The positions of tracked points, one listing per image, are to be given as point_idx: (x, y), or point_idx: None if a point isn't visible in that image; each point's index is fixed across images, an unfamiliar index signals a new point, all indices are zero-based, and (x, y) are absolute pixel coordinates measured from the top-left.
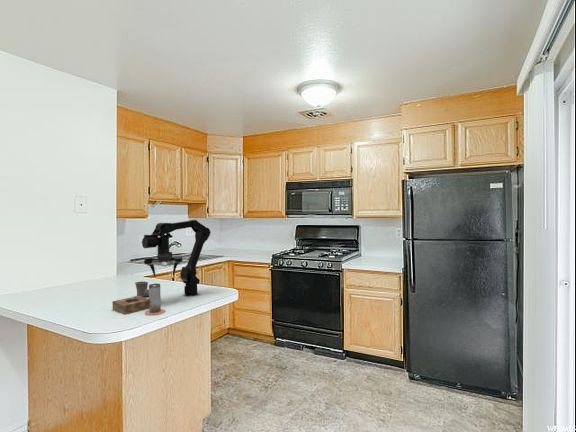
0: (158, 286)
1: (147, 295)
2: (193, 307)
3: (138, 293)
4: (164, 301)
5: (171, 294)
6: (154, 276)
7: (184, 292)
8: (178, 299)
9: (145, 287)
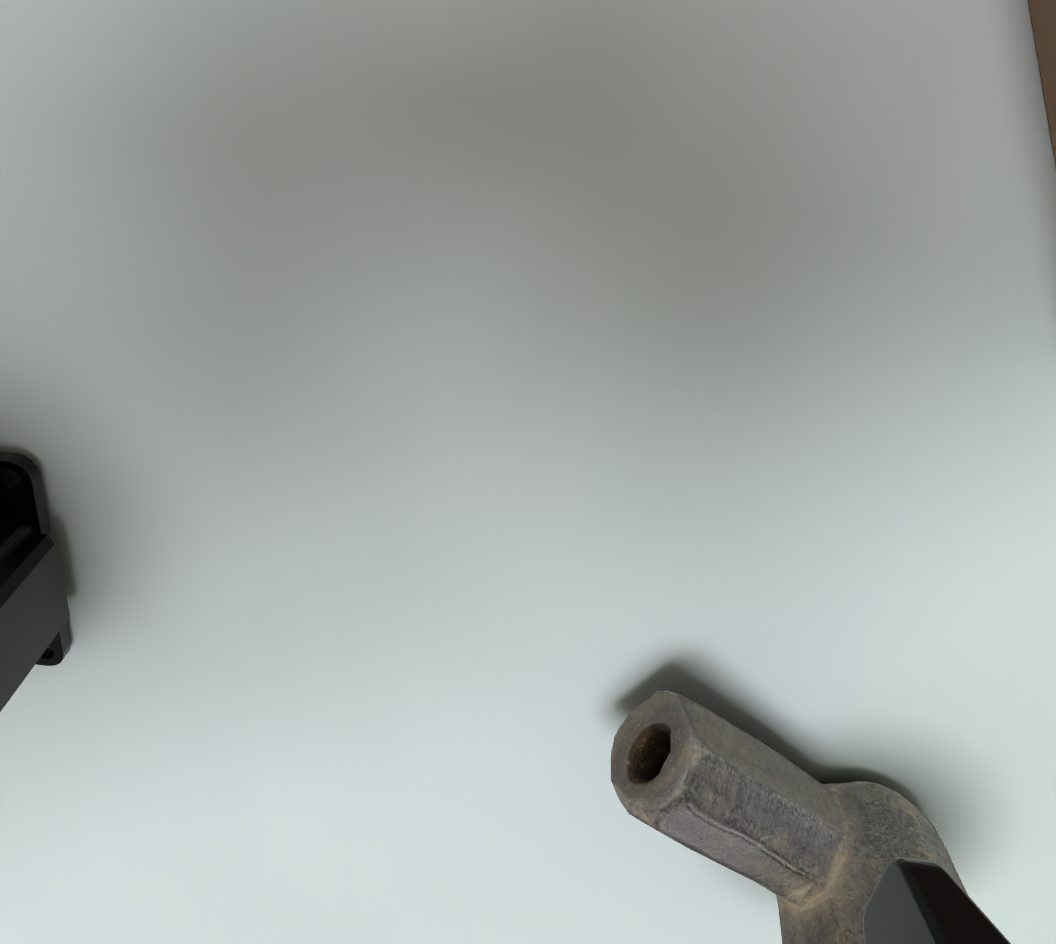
0: None
1: (787, 760)
2: None
3: (945, 856)
4: (522, 239)
5: (341, 718)
6: (942, 870)
7: (60, 619)
8: (189, 255)
9: (849, 938)
